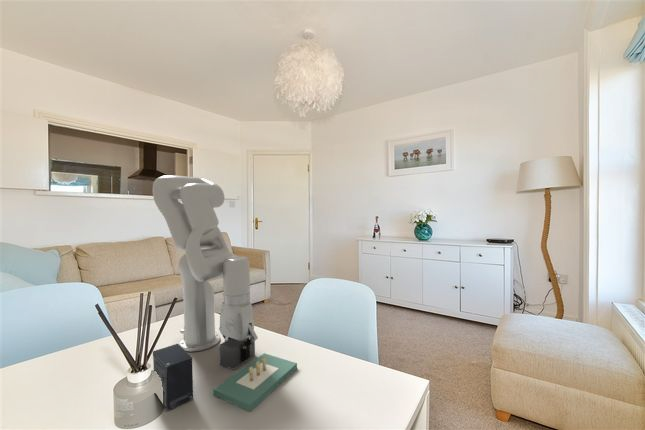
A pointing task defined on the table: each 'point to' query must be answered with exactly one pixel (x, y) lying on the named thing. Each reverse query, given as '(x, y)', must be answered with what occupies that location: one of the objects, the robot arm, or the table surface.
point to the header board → (255, 382)
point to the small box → (174, 375)
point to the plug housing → (233, 353)
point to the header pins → (257, 368)
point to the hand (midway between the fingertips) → (238, 356)
